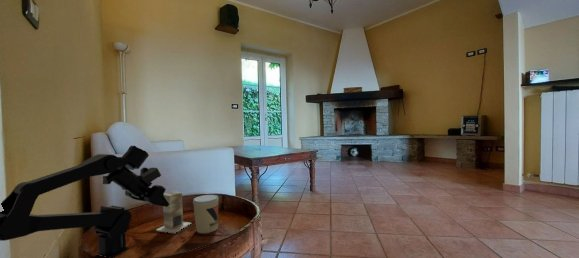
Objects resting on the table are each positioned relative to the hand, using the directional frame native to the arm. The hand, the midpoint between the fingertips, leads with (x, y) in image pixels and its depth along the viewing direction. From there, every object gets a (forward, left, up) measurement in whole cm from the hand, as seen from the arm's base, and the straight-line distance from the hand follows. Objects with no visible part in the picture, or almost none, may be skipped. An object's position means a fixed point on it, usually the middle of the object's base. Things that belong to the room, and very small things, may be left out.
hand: (161, 203), depth 95 cm
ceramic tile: (+4, -1, -11) cm, 12 cm away
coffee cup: (+6, -15, -11) cm, 20 cm away
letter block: (+4, -1, -10) cm, 11 cm away
